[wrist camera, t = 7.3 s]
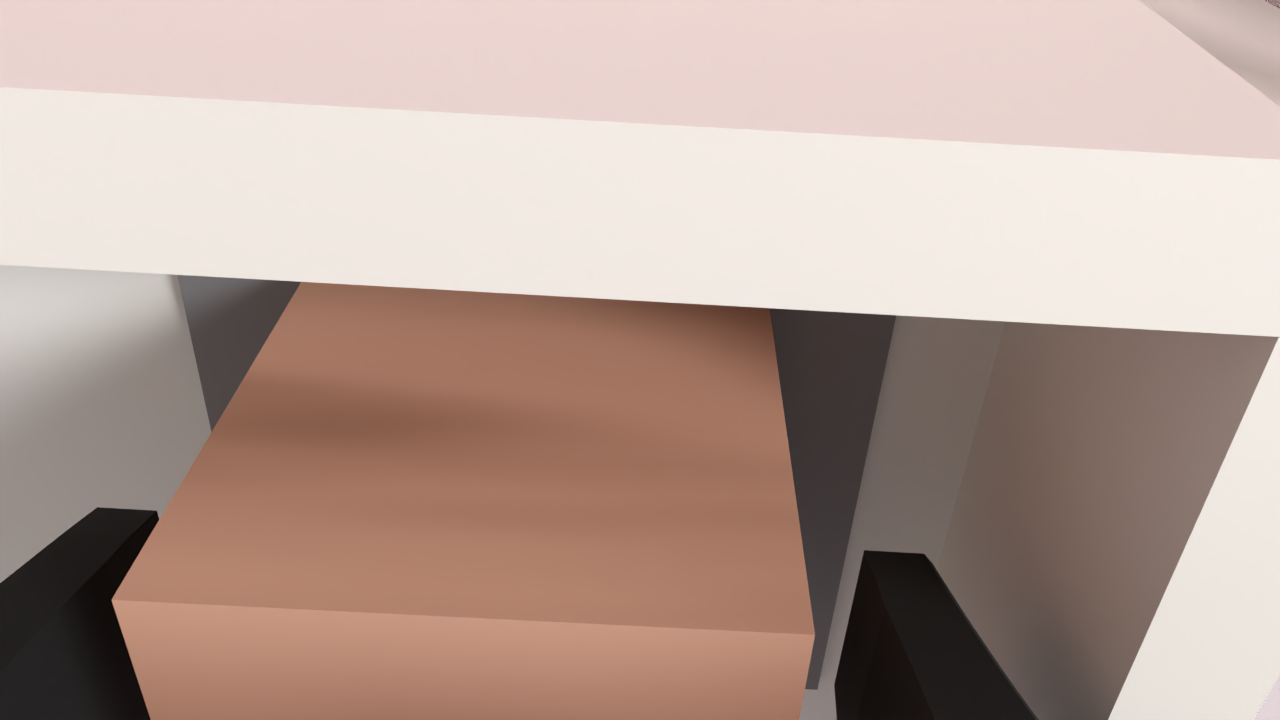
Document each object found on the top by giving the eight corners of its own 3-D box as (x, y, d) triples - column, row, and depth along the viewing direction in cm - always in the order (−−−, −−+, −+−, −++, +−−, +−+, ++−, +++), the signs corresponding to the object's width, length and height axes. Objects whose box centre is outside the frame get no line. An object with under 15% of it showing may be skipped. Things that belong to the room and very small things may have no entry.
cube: (727, 607, 15) (748, 992, 10) (359, 589, 15) (231, 966, 10) (766, 286, 12) (814, 635, 8) (312, 263, 12) (111, 599, 8)
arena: (945, 720, 18) (1040, 1099, 13) (-36, 665, 17) (-288, 1026, 13) (1187, -45, 11) (1560, 175, 6) (-391, -136, 11) (-1172, 20, 6)
